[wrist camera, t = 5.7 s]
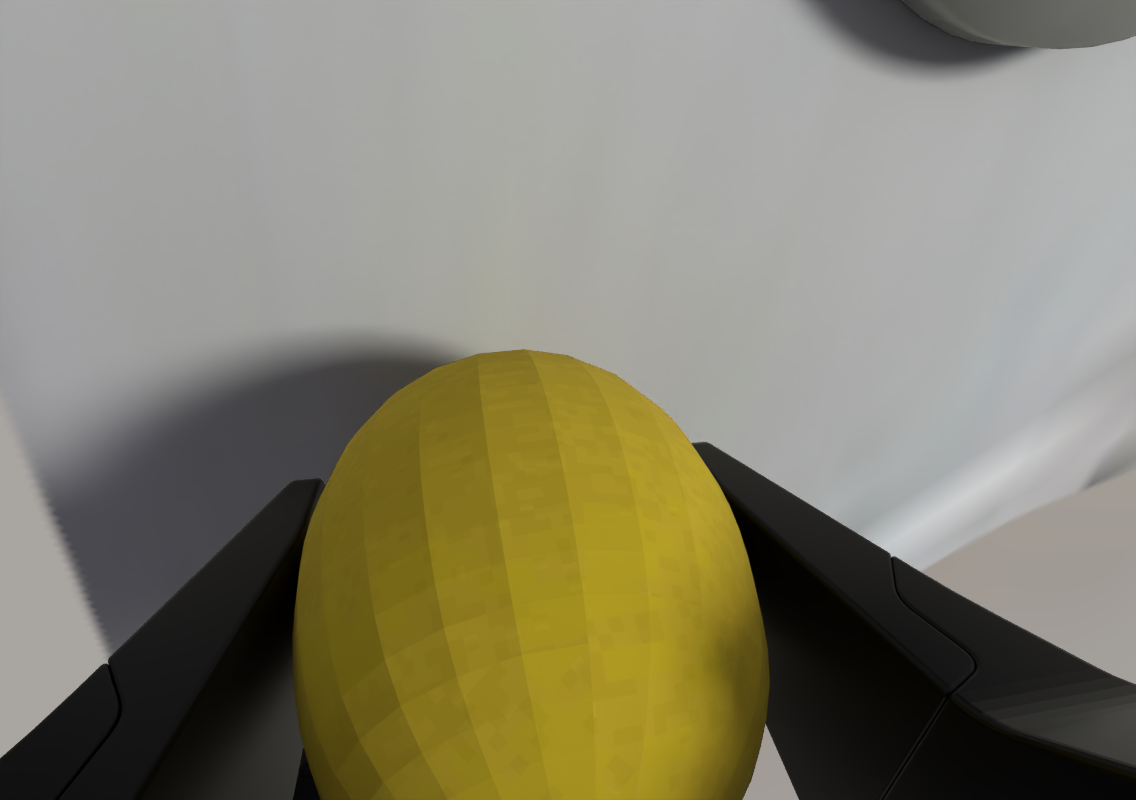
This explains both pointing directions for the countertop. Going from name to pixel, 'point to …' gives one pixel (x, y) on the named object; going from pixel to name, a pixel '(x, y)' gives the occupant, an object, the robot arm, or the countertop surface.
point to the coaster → (1032, 21)
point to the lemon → (526, 599)
